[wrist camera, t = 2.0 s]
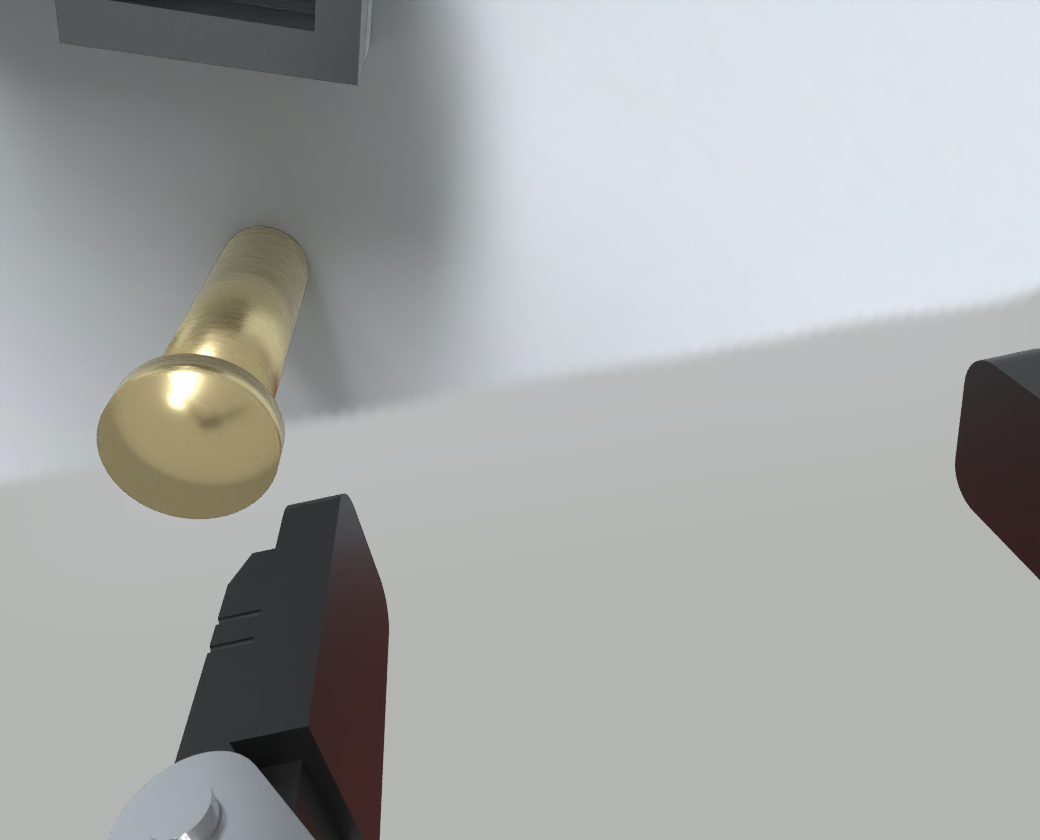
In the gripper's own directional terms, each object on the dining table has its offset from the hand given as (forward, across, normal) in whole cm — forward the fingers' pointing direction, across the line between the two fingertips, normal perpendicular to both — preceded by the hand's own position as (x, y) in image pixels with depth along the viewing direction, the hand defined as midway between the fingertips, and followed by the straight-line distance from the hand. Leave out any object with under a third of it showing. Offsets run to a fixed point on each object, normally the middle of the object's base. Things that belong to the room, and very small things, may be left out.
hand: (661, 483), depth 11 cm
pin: (+20, +9, +2) cm, 22 cm away
